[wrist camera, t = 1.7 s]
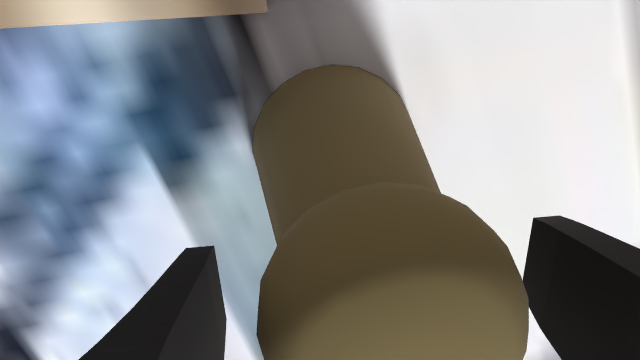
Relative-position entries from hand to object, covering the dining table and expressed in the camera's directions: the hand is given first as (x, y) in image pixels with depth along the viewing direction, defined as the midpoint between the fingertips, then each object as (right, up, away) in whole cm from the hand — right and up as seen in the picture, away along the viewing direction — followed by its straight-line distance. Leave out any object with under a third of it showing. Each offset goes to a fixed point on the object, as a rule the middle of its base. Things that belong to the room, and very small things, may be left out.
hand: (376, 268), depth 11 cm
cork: (-1, +3, +7) cm, 8 cm away
